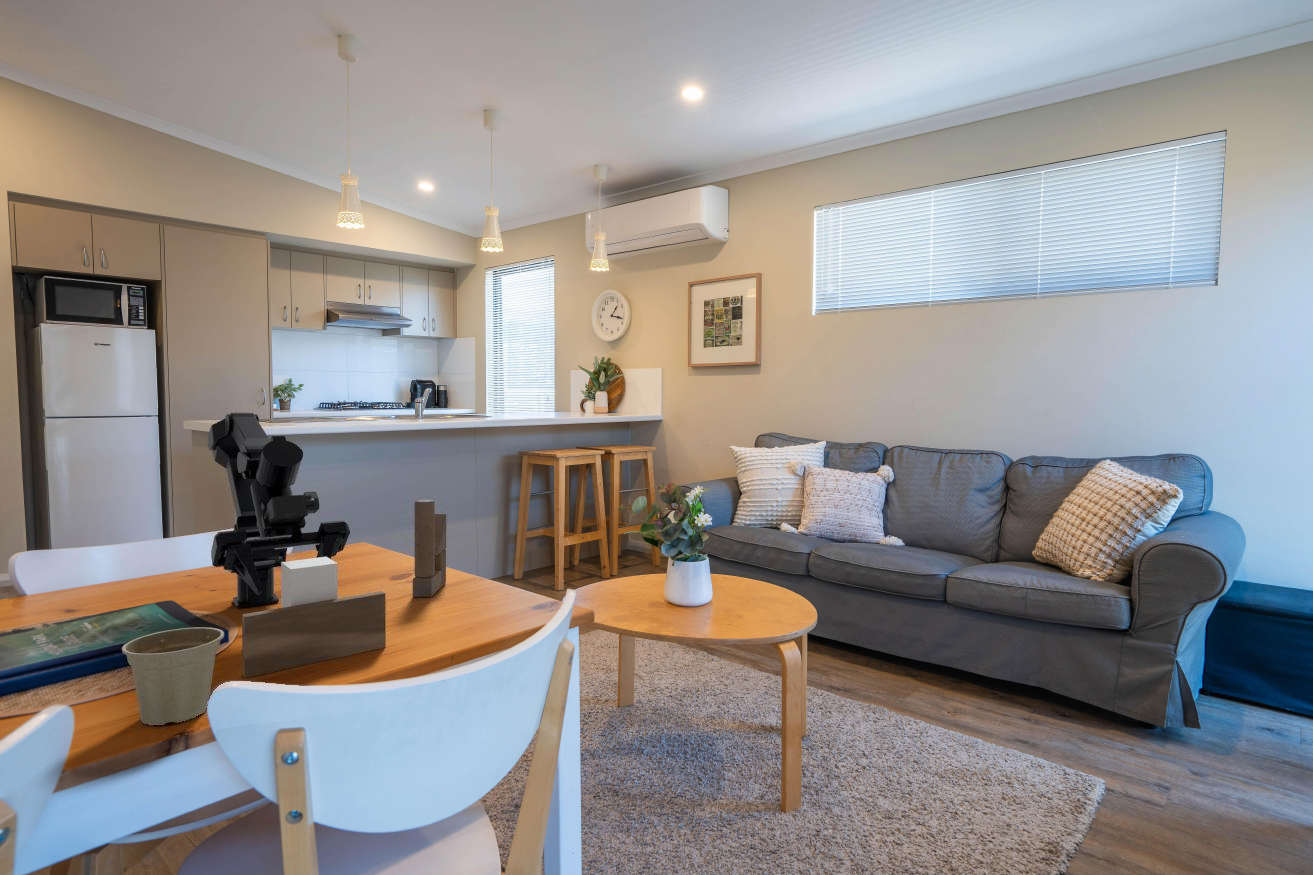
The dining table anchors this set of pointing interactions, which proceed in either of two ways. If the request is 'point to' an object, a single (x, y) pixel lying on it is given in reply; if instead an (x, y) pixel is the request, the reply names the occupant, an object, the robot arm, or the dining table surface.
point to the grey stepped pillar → (429, 549)
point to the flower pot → (173, 672)
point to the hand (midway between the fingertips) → (293, 587)
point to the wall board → (312, 632)
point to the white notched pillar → (308, 581)
